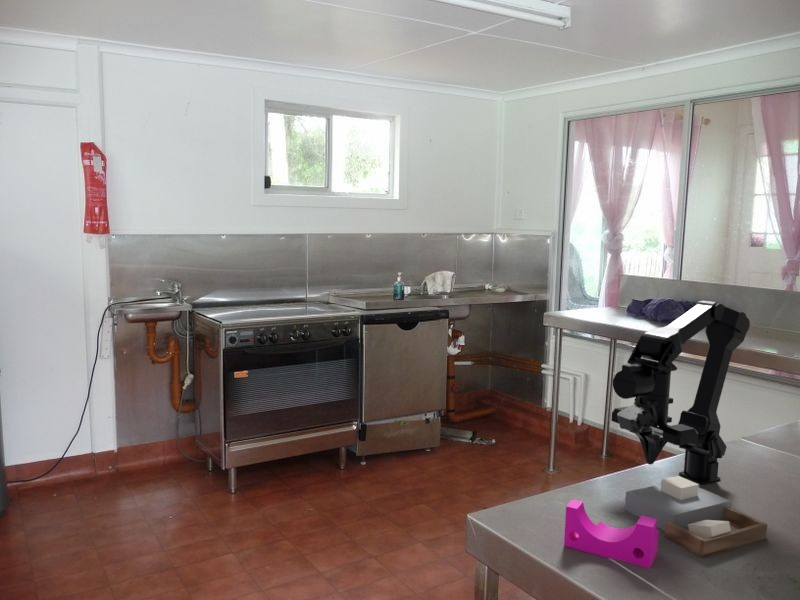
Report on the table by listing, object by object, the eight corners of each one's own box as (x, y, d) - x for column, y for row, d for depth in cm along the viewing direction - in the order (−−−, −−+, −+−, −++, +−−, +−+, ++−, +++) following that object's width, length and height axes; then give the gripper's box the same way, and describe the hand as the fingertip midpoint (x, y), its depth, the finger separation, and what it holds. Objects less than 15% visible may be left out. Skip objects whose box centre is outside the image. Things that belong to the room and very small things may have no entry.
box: (664, 537, 127) (665, 522, 127) (725, 521, 135) (727, 506, 135) (703, 558, 120) (704, 541, 119) (765, 539, 127) (767, 524, 127)
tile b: (660, 490, 139) (661, 479, 139) (677, 486, 142) (678, 475, 141) (680, 499, 135) (681, 488, 135) (697, 495, 137) (698, 484, 137)
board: (624, 510, 139) (626, 491, 138) (680, 497, 146) (681, 479, 146) (672, 535, 128) (673, 515, 128) (729, 520, 136) (730, 500, 135)
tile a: (710, 526, 122) (713, 540, 122) (728, 521, 124) (731, 534, 124) (687, 524, 126) (690, 538, 126) (706, 519, 129) (709, 532, 128)
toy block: (657, 554, 121) (660, 514, 120) (649, 569, 116) (652, 527, 115) (574, 532, 129) (576, 494, 128) (563, 545, 124) (566, 506, 123)
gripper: (594, 385, 148) (590, 455, 150) (662, 408, 131) (657, 485, 133) (632, 381, 153) (628, 448, 155) (702, 402, 136) (696, 476, 138)
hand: (650, 463), depth 145 cm, fingers closed
